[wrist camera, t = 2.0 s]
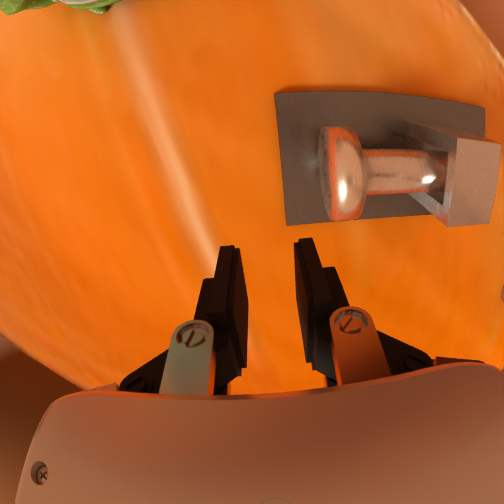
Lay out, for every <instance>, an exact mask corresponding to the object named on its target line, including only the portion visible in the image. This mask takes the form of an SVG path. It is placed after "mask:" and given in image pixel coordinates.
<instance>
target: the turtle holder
mask: <svg viewBox="0 0 504 504" xmlns="http://www.w3.org/2000/svg"><path fill="white" fill-rule="evenodd" d="M119 1H121V0H0V10H2V11H4V14H5V15H11V14H14V13H18V12H20V11H23V10H27V9H40V8H44V7H47V6H50V5H52V4H54V3H57V2H61V3H64V4H66V5H68V6H70V7H72V8H76V9H89V10H90V11H91V12H93V13H95V14H103V13H105V12H106V11H107V5H111V4H113V3H116V2H119Z"/></svg>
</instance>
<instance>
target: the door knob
mask: <svg viewBox="0 0 504 504" xmlns="http://www.w3.org/2000/svg"><path fill="white" fill-rule="evenodd" d="M318 163H319V176H320V184H321V191H322V196H323V201H324V205H325V208H326V212H327V214H328V216H329V218H330V219H331V220H332V221H339V220H351V219H358V218H359V217H360V216H361V214H362V212H363V209H364V205H365V200H366V195H375V194H397V193H426V192H445V185H446V175H447V165H448V152H447V151H437V150H415V149H362V147H361V144H360V141H359V139H358V136H357V135H356V133H355V131H354V130H353V129H352V128H351V127H349V126H328V127H323V128H322V129H321V131H320V135H319V144H318Z"/></svg>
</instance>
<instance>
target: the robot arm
mask: <svg viewBox="0 0 504 504" xmlns="http://www.w3.org/2000/svg"><path fill="white" fill-rule="evenodd" d="M294 258H295V281H296V300H297V307H298V313H299V319H300V325H301V332H302V338H303V345H304V351H305V358H306V363H310V362H311V363H312V369H313V370H317V371H318V372H320V373H322V374H324V383H325V388H318V389H309V390H300V391H290V392H279V393H265V394H246V395H230V392H231V385H230V381H232V380H233V379H234V378H235V377H237V376H241V370H242V368H246V367H247V337H248V296H247V290H246V284H245V278H244V272H243V266H242V260H241V254H240V249H239V248H235V247H234V245H230V246H221V247H220V251H219V255H218V260H217V265H216V270H215V275H214V278H206V279H204V280H203V283H202V287H201V291H200V295H199V299H198V303H197V308H196V312H195V316H194V320H191V321H187V322H185V323H183V324H181V325H180V326H178V327H177V328H176V329H175V331H174V332H173V335H172V338H171V342H170V346H169V349H167V350H166V351H164V352H163V353H161V354H160V355H158V356H157V357H155V358H154V359H152V360H151V361H149V362H148V363H146V364H145V365H143V366H141V367H140V368H138V369H137V370H135V371H134V372H132V373H131V374H129V375H128V376H127V377H125V378H124V379H123V381H122V382H121V384H120V385H117V384H116V382H115V383H112V384H108V385H104V386H100V387H97V388H93V389H89V390H85V391H81V392H76V393H74V394H69V395H66V396H63V397H61V398H59V399H57V400H56V401H54V402H53V403H52V404H51V405H50V406H49V408H48V409H47V411H46V412H45V414H44V416H43V418H42V420H41V422H40V423H39V425H38V428H37V430H36V433H35V435H34V437H33V440H32V443H31V445H30V448H29V451H28V454H27V457H26V461H25V464H24V468H23V471H22V475H21V479H20V483H19V487H18V491H17V496H16V502H15V504H504V373H503V372H502V371H501V370H499V369H498V368H497V367H495V366H493V365H489V364H486V363H484V362H483V361H479V360H468V359H457V358H447V357H437V356H436V358H435V359H431V358H430V357H429V356H428V355H427V354H426V353H425V352H423V351H421V350H419V349H417V348H414V347H412V346H410V345H408V344H406V343H403V342H401V341H399V340H397V339H395V338H393V337H390V336H388V335H386V334H384V333H382V332H379V331H377V330H376V328H375V325H374V323H373V320H372V318H371V316H370V314H369V313H368V312H366V311H365V310H363V309H361V308H359V307H354V306H349V303H348V300H347V298H346V295H345V292H344V290H343V287H342V284H341V282H340V279H339V276H338V274H337V271H336V269H335V267H325V268H322V265H321V262H320V259H319V256H318V253H317V250H316V247H315V244H314V242H313V239H312V238H302V239H299V241H298V242H297V243H294ZM502 300H503V302H504V288H503V292H502Z"/></svg>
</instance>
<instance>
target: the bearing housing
mask: <svg viewBox="0 0 504 504" xmlns="http://www.w3.org/2000/svg"><path fill="white" fill-rule="evenodd" d="M274 99H275V107H276V116H277V126H278V135H279V145H280V156H281V167H282V178H283V190H284V202H285V215H286V225H287V226H290V225H300V224H311V223H323V222H335V221H332V220H331V219H330V218H329V216H328V214H327V212H326V208H325V205H324V201H323V196H322V191H321V184H320V176H319V163H318V144H319V135H320V131H321V129H322V128H323V127H328V126H349V127H351V128H352V129H353V130H354V131H355V133H356V135H357V136H358V139H359V141H360V144H361V147H362V149H415V150H437V151H447V152H448V165H447V175H446V185H445V192H426V193H397V194H375V195H366V200H365V205H364V209H363V212H362V214H361V216H360V217H359V218H358V219H351V220H359V219H372V218H385V217H400V216H414V215H430V214H433V215H434V216H435V217H436V218H437V219H439V220H440V221H441V222H442V223H443V224H444V225H445V226H446V227H452V226H464V225H477V224H489V222H490V218H491V213H492V209H493V203H494V198H495V192H496V186H497V180H498V172H499V164H500V154H501V144H499V143H497V142H494V141H492V140H489V139H487V138H484V133H485V108H482V107H478V106H473V105H469V104H464V103H459V102H453V101H448V100H442V99H435V98H429V97H421V96H413V95H404V94H393V93H380V92H360V91H308V92H288V93H274ZM339 221H347V220H339Z"/></svg>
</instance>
